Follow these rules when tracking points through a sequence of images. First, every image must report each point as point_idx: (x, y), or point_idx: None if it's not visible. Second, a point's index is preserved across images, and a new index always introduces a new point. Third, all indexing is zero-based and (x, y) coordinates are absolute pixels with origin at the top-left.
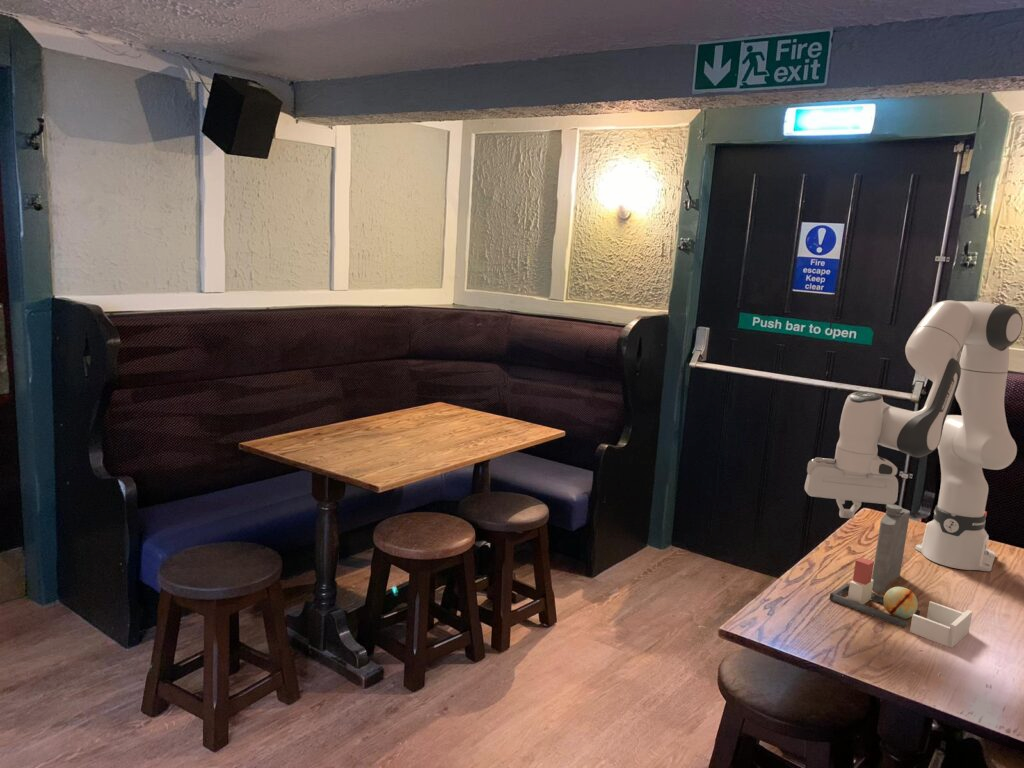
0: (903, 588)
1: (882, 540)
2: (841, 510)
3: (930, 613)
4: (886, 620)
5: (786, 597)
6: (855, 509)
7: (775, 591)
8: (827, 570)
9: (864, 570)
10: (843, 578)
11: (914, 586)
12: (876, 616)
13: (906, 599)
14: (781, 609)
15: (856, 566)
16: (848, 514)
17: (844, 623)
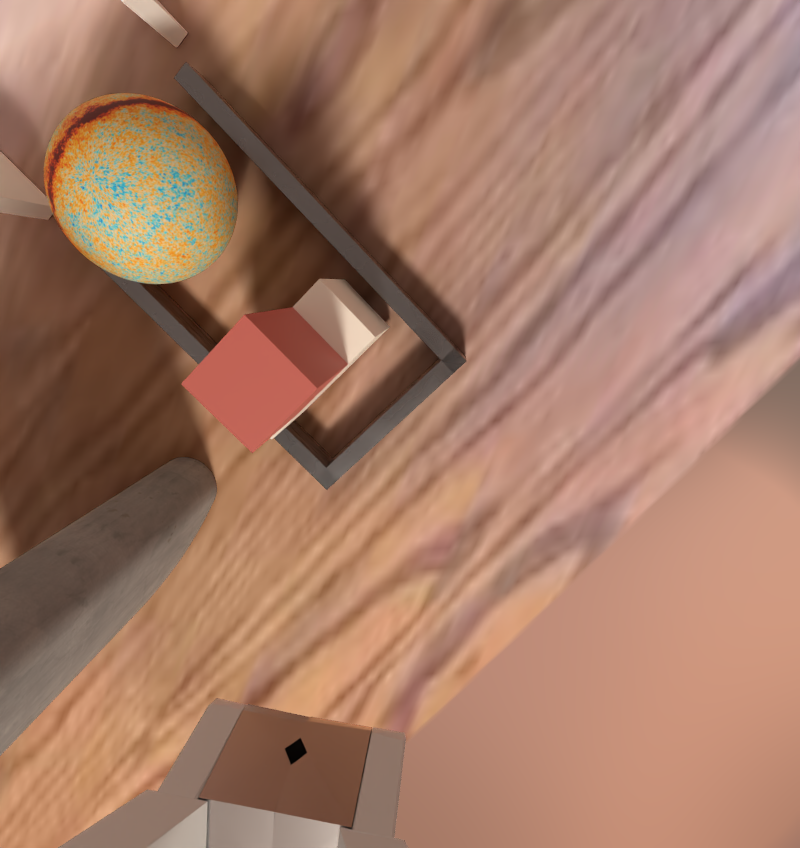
0: (89, 173)
1: (10, 616)
2: (403, 843)
3: (23, 193)
4: (263, 141)
5: (690, 353)
6: (120, 839)
7: (719, 416)
8: (348, 657)
9: (279, 328)
10: (304, 585)
11: (11, 534)
12: (299, 180)
13: (113, 101)
14: (790, 202)
15: (319, 372)
16: (283, 757)
17: (500, 78)
